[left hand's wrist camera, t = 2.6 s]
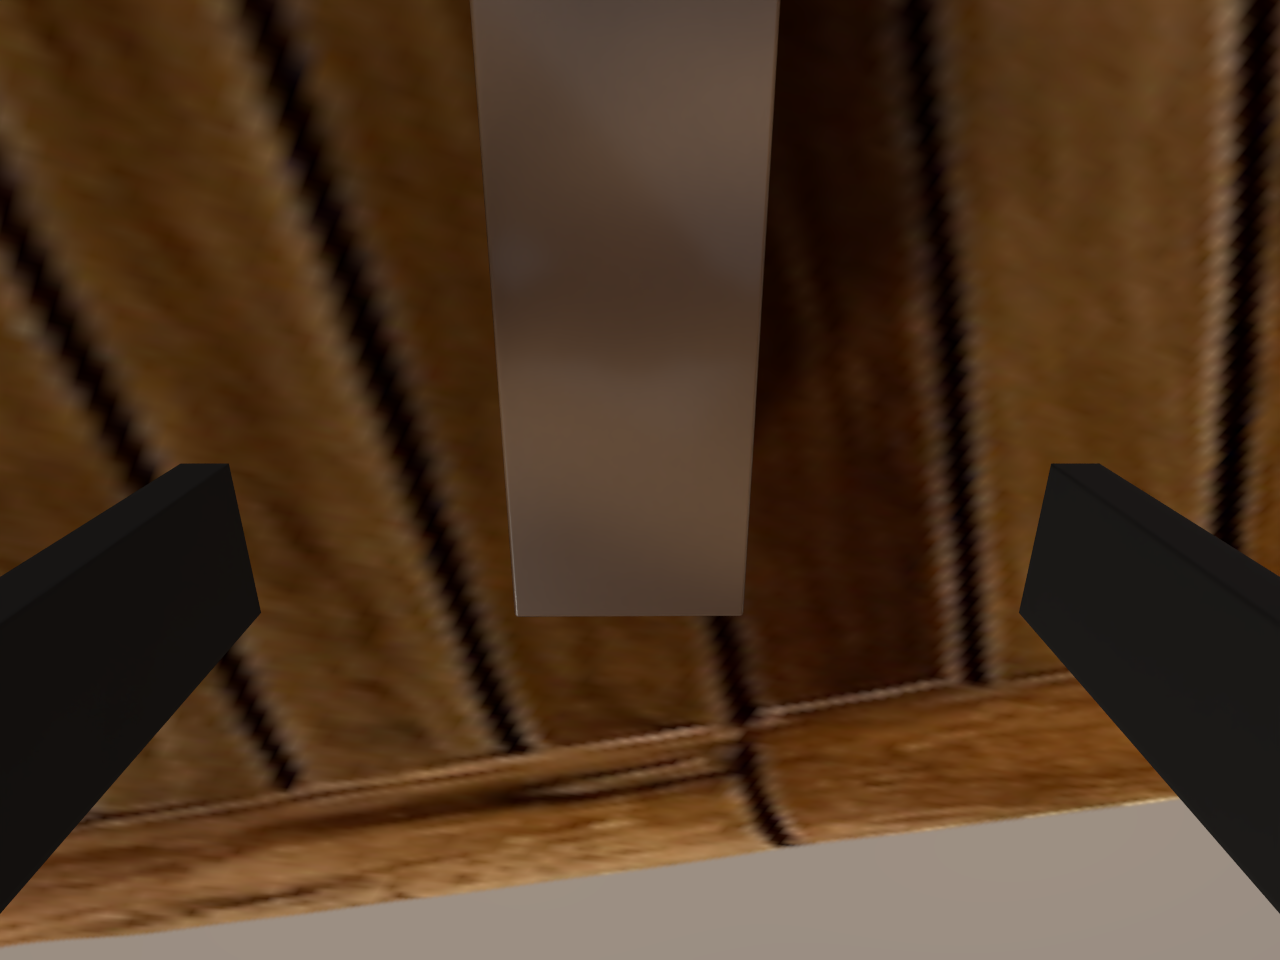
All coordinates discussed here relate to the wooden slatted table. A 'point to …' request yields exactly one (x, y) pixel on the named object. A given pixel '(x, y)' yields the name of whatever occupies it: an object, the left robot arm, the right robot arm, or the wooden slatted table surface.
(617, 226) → the bar
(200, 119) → the wooden slatted table surface
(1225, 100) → the wooden slatted table surface
